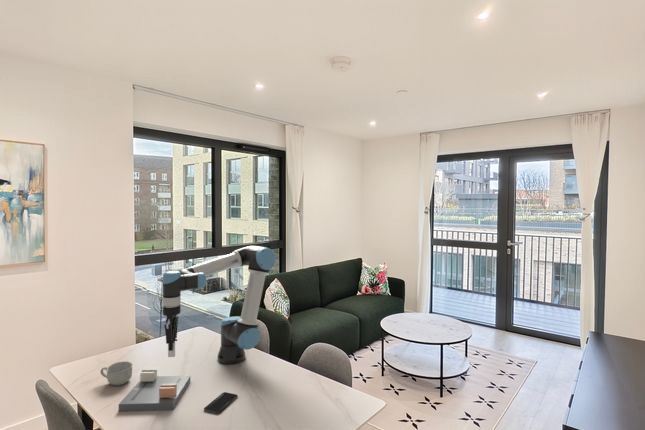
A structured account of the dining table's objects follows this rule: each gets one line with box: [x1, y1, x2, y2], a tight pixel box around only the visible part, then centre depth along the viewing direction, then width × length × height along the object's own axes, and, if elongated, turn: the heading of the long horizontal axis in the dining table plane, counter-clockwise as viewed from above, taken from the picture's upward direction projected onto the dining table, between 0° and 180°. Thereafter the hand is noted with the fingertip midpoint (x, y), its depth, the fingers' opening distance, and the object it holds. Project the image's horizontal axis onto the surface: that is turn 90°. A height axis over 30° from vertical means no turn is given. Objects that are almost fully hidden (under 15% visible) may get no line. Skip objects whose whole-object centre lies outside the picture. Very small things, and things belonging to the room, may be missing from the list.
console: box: [118, 375, 191, 412], centre depth 160 cm, size 22×24×3 cm
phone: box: [203, 391, 238, 415], centre depth 154 cm, size 8×1×15 cm
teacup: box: [100, 360, 133, 387], centre depth 171 cm, size 14×11×8 cm
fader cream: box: [139, 368, 158, 382], centre depth 167 cm, size 6×4×4 cm, turn 94°
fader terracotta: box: [159, 384, 177, 398], centre depth 153 cm, size 6×4×4 cm, turn 94°
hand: (171, 356), depth 163 cm, fingers closed
